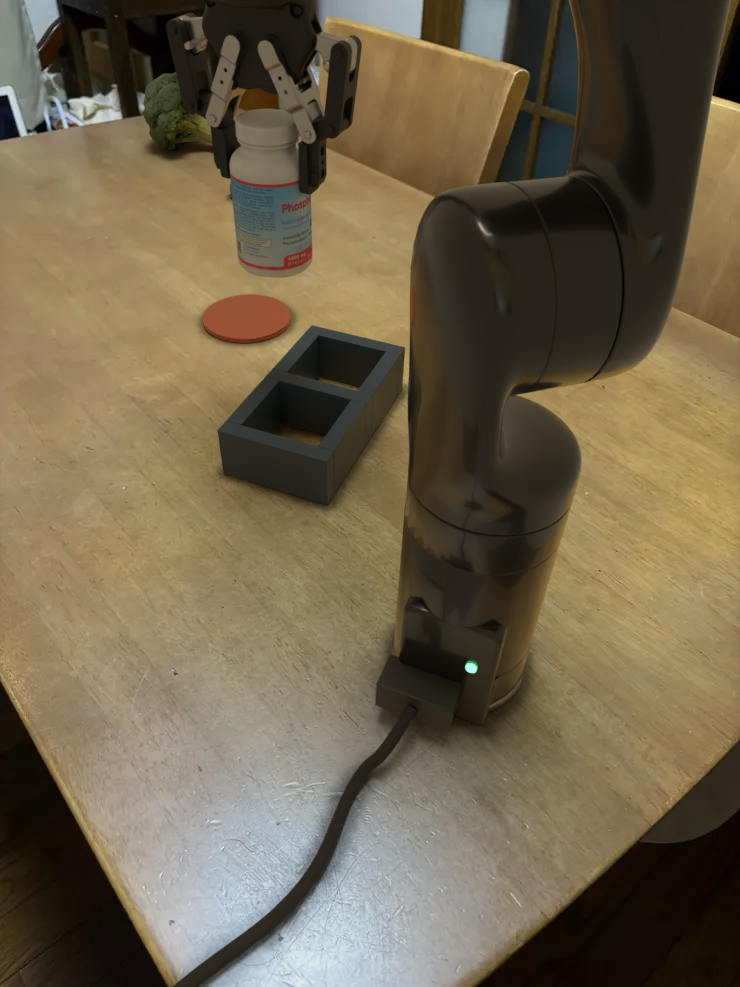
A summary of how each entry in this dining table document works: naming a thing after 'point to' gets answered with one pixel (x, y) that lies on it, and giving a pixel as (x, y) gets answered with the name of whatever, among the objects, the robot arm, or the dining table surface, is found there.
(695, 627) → the dining table surface
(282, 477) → the bottle holder
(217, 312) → the coaster
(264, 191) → the pill bottle
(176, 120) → the vegetable
